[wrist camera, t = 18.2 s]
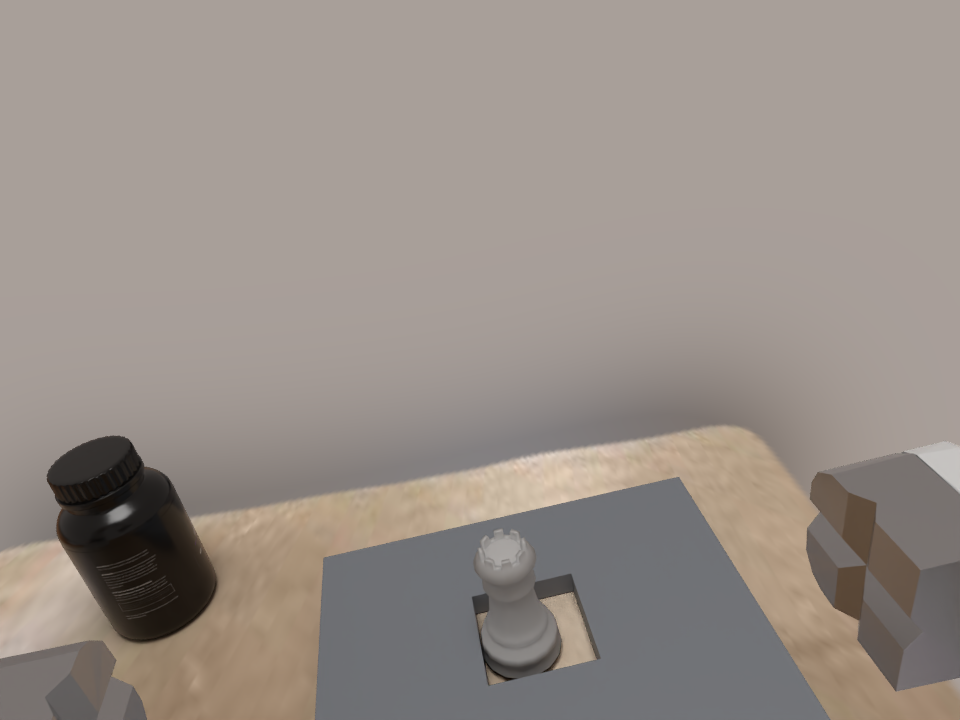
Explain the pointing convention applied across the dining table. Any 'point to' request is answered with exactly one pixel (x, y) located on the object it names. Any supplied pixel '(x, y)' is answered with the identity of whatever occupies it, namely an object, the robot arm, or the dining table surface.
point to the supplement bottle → (130, 538)
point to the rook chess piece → (514, 608)
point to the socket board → (604, 607)
